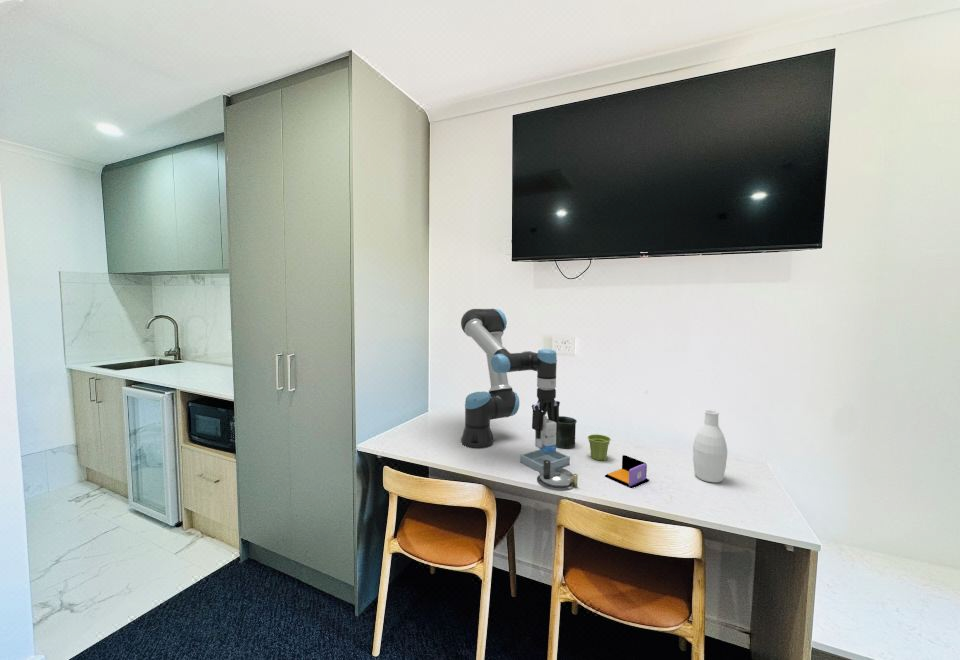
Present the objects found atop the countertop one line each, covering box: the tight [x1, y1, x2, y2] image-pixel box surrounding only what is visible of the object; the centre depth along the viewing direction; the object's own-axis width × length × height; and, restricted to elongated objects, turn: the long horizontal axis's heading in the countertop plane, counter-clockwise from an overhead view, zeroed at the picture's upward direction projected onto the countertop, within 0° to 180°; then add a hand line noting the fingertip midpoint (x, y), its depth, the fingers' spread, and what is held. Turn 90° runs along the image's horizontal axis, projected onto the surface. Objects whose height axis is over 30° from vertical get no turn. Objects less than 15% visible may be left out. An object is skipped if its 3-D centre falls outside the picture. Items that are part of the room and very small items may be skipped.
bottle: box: [692, 409, 728, 484], centre depth 141 cm, size 11×11×25 cm
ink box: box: [534, 414, 557, 453], centre depth 150 cm, size 9×5×15 cm, turn 23°
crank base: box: [536, 473, 579, 492], centre depth 135 cm, size 14×14×5 cm
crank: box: [539, 460, 574, 488], centre depth 135 cm, size 12×12×8 cm
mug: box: [556, 415, 578, 450], centre depth 173 cm, size 11×15×12 cm
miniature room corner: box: [604, 454, 650, 489], centre depth 139 cm, size 12×12×7 cm
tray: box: [519, 448, 571, 474], centre depth 151 cm, size 13×16×4 cm
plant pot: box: [587, 433, 612, 461], centre depth 158 cm, size 9×9×9 cm
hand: (545, 444), depth 151 cm, fingers closed on ink box, 5 cm apart
